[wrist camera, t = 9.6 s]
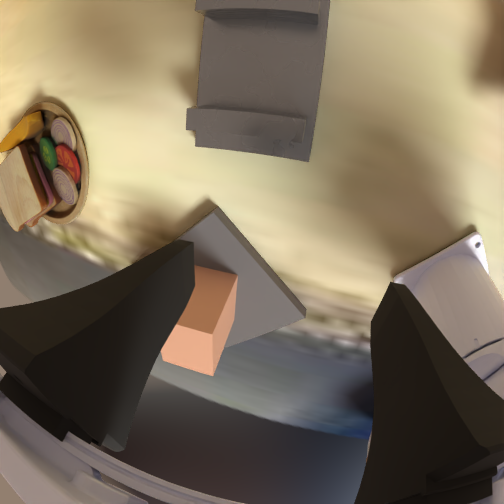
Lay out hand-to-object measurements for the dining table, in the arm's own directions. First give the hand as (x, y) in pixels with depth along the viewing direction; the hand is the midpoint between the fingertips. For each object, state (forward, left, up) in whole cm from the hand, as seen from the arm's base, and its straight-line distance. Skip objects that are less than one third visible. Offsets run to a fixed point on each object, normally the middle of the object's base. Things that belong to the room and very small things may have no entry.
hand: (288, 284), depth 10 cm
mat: (-3, +11, -9) cm, 15 cm away
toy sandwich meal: (+16, +17, -10) cm, 26 cm away
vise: (+8, -3, -9) cm, 13 cm away
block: (-3, +11, -8) cm, 14 cm away
